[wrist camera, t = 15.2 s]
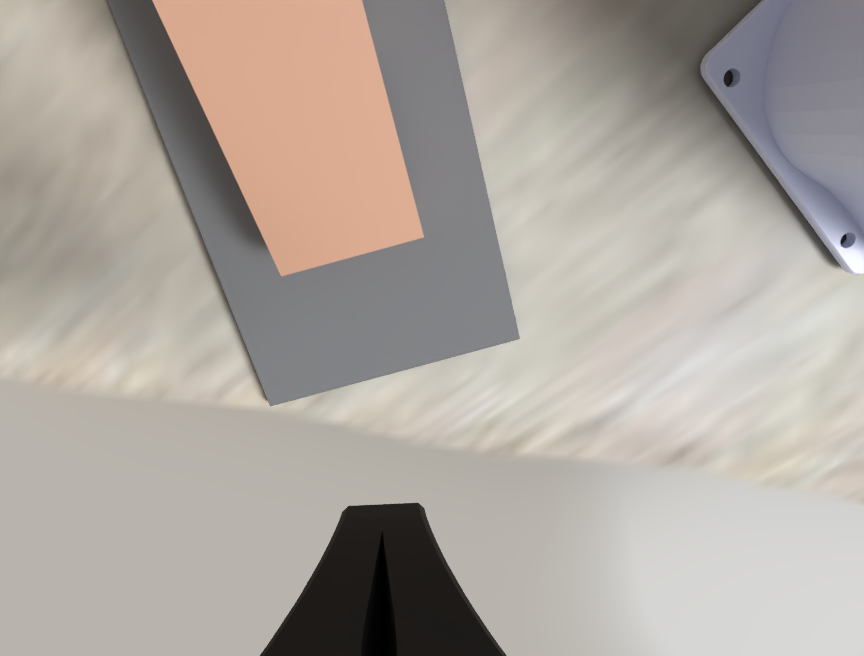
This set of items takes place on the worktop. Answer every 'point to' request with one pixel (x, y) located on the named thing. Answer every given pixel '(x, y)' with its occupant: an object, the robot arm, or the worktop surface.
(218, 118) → the domino
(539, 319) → the worktop surface
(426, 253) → the mat
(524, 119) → the worktop surface
